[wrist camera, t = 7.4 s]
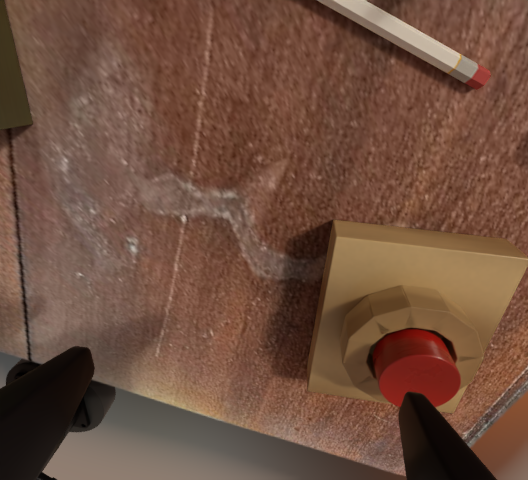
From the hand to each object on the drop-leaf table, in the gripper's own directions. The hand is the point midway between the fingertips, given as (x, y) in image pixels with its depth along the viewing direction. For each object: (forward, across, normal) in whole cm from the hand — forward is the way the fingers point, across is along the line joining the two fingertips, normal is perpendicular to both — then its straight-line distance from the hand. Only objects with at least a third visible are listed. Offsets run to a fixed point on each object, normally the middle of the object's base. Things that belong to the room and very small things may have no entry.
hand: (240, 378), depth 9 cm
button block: (+10, -8, +5) cm, 14 cm away
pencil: (+11, 0, -11) cm, 16 cm away
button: (+7, -8, +5) cm, 11 cm away
